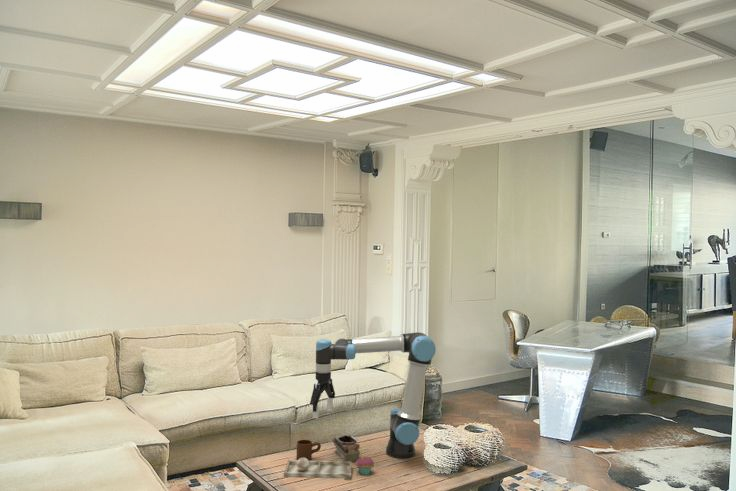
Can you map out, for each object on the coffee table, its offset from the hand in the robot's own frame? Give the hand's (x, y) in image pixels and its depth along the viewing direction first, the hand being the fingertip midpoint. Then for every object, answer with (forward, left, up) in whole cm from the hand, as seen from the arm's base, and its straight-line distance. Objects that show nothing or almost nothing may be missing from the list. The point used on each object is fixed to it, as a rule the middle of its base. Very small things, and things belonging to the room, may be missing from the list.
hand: (322, 414), depth 301 cm
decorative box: (-10, -11, -25) cm, 29 cm away
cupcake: (-21, +10, -25) cm, 34 cm away
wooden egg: (+8, +11, -24) cm, 27 cm away
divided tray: (+1, +11, -25) cm, 27 cm away
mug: (+7, -4, -25) cm, 26 cm away
